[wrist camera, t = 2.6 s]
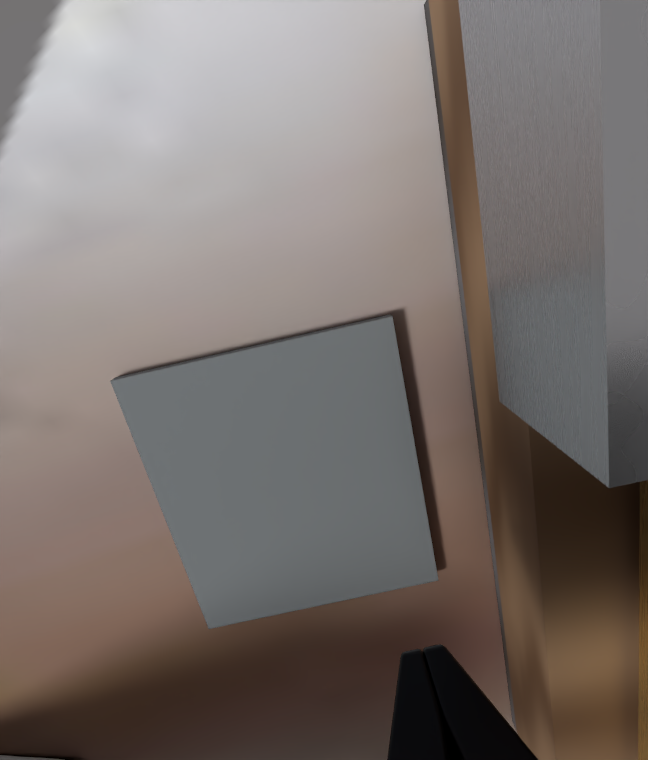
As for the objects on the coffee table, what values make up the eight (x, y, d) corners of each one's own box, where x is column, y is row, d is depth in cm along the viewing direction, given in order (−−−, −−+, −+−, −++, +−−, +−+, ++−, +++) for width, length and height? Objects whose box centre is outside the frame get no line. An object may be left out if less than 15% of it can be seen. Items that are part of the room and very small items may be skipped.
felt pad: (435, 573, 13) (438, 580, 12) (211, 620, 13) (208, 629, 13) (390, 314, 10) (392, 316, 10) (115, 377, 11) (110, 380, 10)
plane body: (669, 689, 15) (757, 796, 12) (512, 721, 15) (561, 834, 12) (696, -64, 8) (898, -225, 6) (424, 5, 9) (483, -118, 6)
